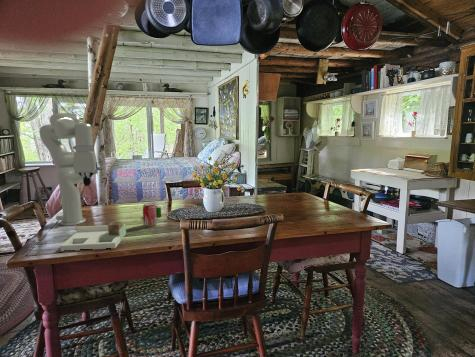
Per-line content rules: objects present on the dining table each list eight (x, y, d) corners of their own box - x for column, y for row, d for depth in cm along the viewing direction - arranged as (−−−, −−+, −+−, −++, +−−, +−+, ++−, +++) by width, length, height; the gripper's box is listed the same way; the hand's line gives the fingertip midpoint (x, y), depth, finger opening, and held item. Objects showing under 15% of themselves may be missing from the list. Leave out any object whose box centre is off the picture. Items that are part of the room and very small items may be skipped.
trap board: (60, 251, 133) (59, 240, 132) (78, 236, 151) (77, 226, 150) (115, 248, 135) (114, 237, 134) (126, 233, 154) (125, 224, 153)
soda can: (145, 223, 170) (143, 202, 168) (158, 222, 171) (156, 202, 169) (142, 227, 163) (140, 205, 161) (155, 226, 164) (154, 205, 162)
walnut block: (108, 235, 144) (107, 225, 144) (112, 231, 149) (111, 222, 148) (119, 234, 145) (118, 224, 144) (122, 231, 150) (121, 221, 149)
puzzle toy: (159, 214, 188) (158, 205, 187) (161, 217, 182) (160, 207, 182) (149, 215, 185) (148, 206, 184) (151, 218, 180) (150, 208, 179)
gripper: (65, 149, 145) (68, 187, 148) (97, 150, 146) (100, 187, 150) (71, 147, 152) (75, 183, 156) (103, 148, 153) (105, 183, 157)
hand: (87, 185), depth 153 cm, fingers closed
